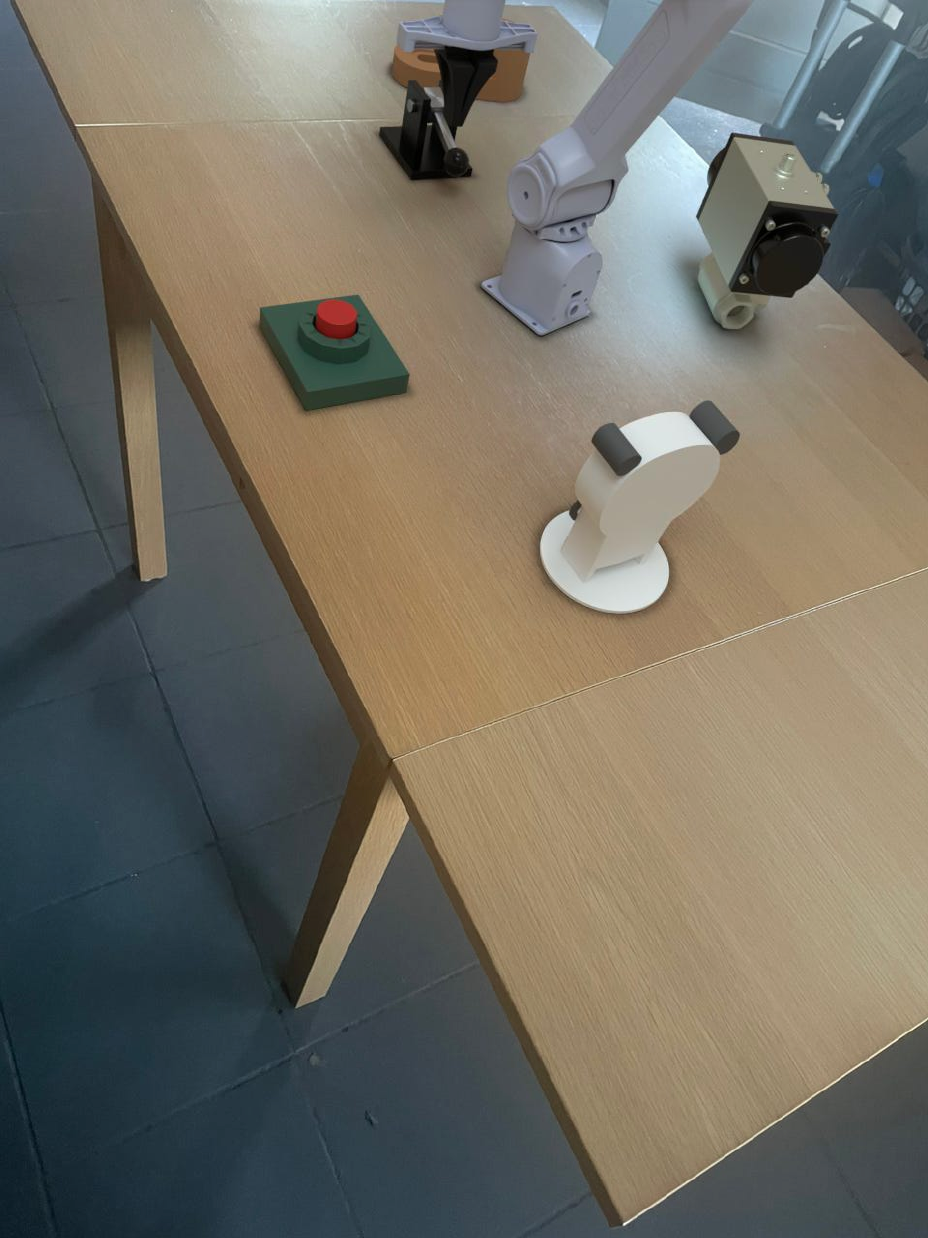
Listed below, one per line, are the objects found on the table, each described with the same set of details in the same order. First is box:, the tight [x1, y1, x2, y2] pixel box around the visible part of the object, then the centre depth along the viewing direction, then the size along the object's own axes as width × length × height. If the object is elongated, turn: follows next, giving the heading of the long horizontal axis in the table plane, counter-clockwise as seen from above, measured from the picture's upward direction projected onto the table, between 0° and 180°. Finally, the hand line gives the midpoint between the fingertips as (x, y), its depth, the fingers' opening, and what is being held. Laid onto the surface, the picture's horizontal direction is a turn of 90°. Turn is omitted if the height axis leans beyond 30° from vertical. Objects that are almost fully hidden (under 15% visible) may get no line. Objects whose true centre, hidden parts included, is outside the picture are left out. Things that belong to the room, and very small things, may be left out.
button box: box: [259, 294, 410, 411], centre depth 85 cm, size 12×10×4 cm
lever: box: [423, 87, 470, 178], centre depth 106 cm, size 11×3×3 cm, turn 26°
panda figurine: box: [539, 399, 741, 615], centre depth 73 cm, size 12×11×15 cm
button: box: [316, 300, 357, 340], centre depth 83 cm, size 4×4×2 cm
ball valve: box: [695, 132, 839, 330], centre depth 98 cm, size 18×8×18 cm, turn 7°
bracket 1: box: [391, 17, 531, 103], centre depth 122 cm, size 18×8×7 cm, turn 101°
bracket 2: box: [378, 80, 474, 181], centre depth 109 cm, size 10×8×8 cm
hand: (453, 121), depth 97 cm, fingers closed
